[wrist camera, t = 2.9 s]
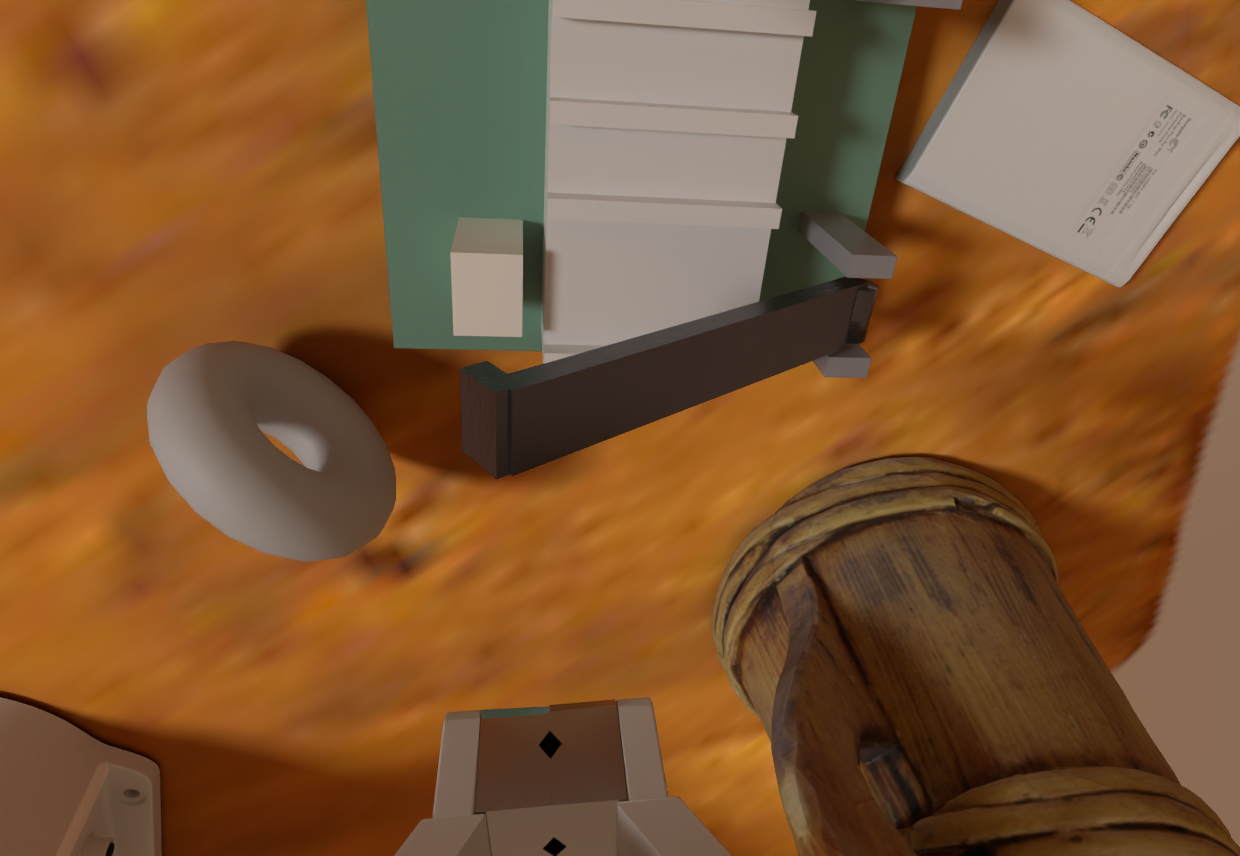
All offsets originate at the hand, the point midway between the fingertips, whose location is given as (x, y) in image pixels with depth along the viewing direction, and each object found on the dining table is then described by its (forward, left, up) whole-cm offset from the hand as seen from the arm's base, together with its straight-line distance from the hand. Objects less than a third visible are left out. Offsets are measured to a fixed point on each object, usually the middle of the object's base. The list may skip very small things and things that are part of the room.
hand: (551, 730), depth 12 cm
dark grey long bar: (0, -5, -15) cm, 15 cm away
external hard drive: (+5, -22, -25) cm, 34 cm away
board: (+6, -4, -24) cm, 25 cm away
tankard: (-18, -17, -25) cm, 35 cm away
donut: (-7, +10, -25) cm, 27 cm away
